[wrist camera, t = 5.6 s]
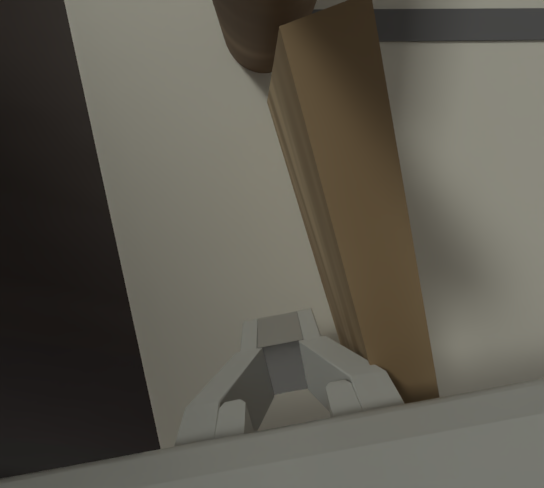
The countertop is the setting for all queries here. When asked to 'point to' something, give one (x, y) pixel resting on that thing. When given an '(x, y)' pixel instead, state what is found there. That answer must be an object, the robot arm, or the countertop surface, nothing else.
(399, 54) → the card
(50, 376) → the countertop surface
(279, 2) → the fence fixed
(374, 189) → the fence gate
